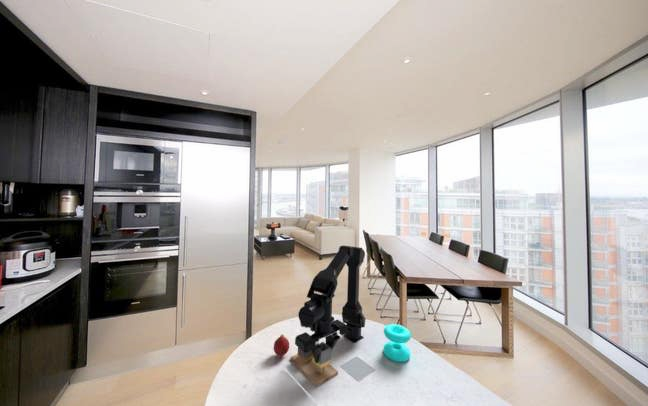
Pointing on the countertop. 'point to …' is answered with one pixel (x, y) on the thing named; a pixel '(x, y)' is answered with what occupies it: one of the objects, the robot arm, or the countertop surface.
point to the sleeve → (324, 355)
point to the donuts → (397, 343)
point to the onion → (281, 346)
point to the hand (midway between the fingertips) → (321, 359)
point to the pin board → (313, 368)
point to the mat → (357, 368)
